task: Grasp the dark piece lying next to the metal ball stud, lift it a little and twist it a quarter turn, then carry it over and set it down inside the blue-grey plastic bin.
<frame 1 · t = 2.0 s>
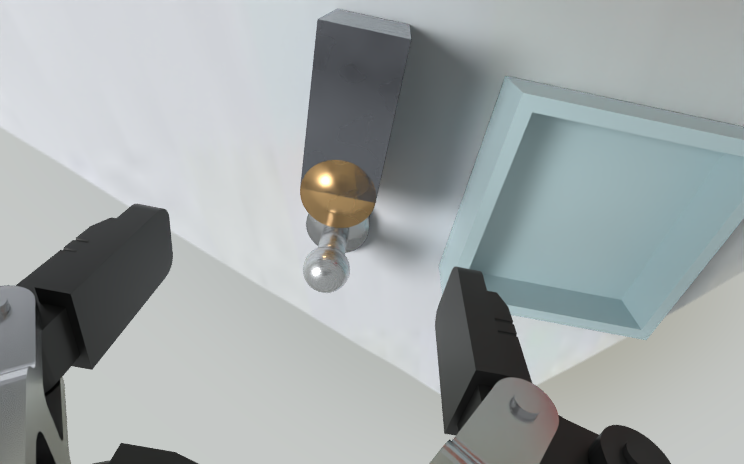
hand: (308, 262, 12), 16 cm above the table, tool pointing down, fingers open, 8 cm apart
bin: (571, 205, 27), on the table
stud post: (338, 221, 29), on the table
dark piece: (360, 90, 24), on the table
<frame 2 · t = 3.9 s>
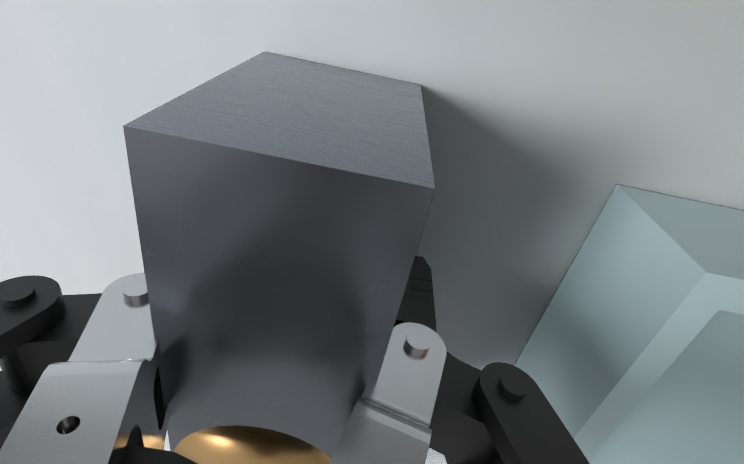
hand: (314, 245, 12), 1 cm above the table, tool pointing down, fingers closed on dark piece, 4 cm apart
bin: (705, 386, 15), on the table
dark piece: (323, 205, 12), on the table, touching gripper
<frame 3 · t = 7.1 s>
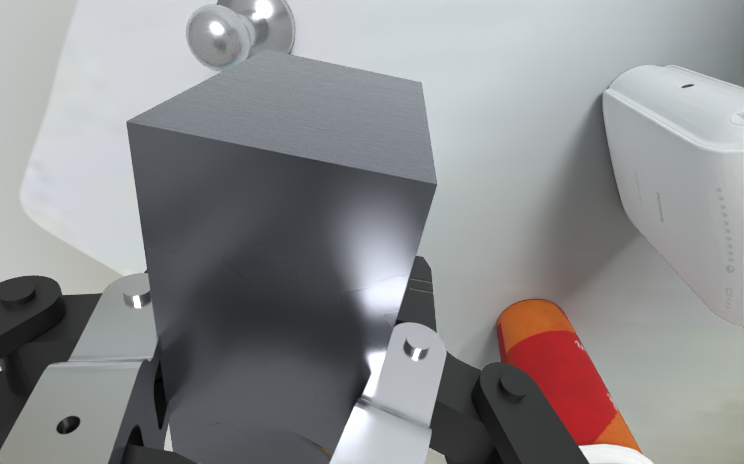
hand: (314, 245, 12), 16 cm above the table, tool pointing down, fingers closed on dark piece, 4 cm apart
paper cup: (530, 321, 34), on the table
stud post: (257, 26, 24), on the table
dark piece: (324, 203, 12), point 15 cm above the table, touching gripper
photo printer: (640, 143, 26), on the table
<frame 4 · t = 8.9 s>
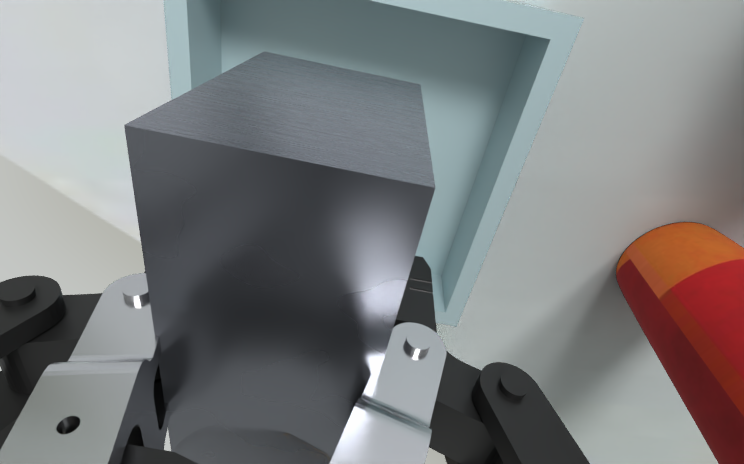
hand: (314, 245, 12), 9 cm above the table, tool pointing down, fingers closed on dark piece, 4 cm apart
bin: (353, 141, 20), on the table
paper cup: (667, 260, 23), on the table
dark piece: (323, 204, 12), point 9 cm above the table, touching gripper
when the fingers open (3 cm above the table, at t = 10.4 s): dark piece stays where it is, resting on bin.
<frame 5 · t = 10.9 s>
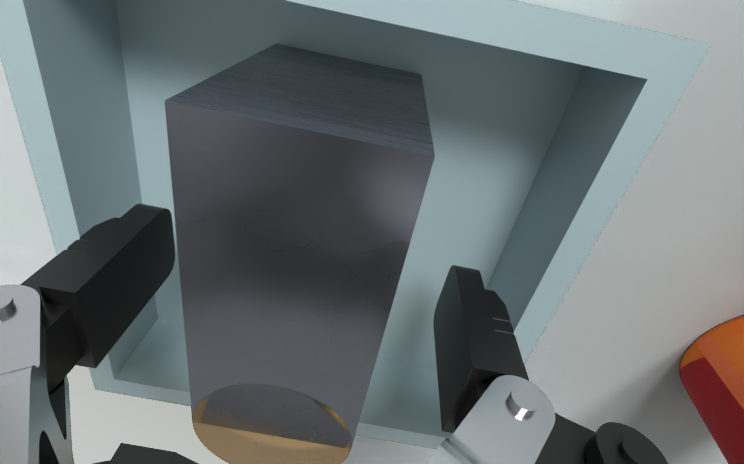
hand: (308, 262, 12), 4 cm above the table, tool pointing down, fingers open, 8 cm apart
bin: (328, 203, 15), on the table
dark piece: (330, 189, 13), point 1 cm above the table, touching bin
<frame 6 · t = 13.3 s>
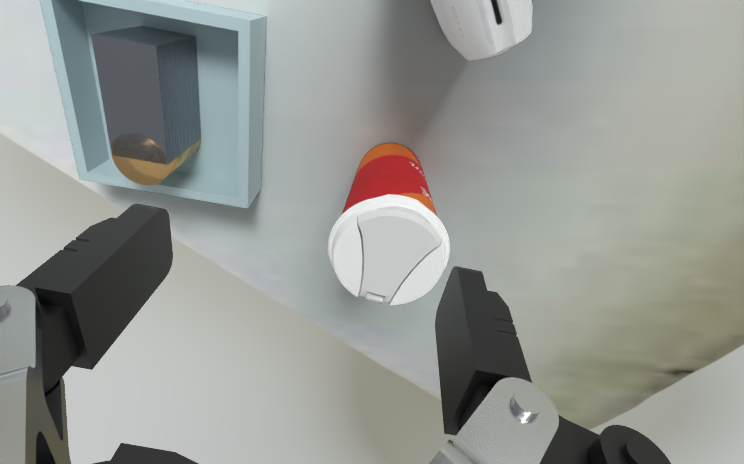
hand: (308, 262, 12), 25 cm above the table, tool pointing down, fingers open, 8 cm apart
bin: (179, 96, 34), on the table
paper cup: (390, 170, 37), on the table
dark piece: (173, 85, 32), point 1 cm above the table, touching bin
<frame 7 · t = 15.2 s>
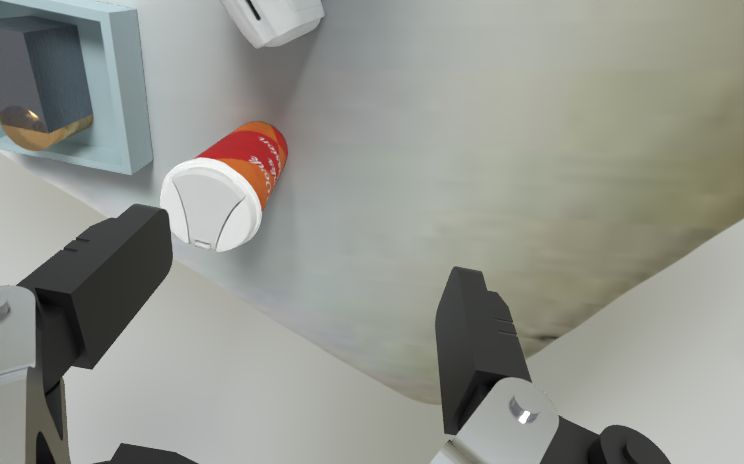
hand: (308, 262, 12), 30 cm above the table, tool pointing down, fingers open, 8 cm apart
bin: (73, 77, 39), on the table
paper cup: (262, 146, 42), on the table
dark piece: (64, 67, 38), point 1 cm above the table, touching bin
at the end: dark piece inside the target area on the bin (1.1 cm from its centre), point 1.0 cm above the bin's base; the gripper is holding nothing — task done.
